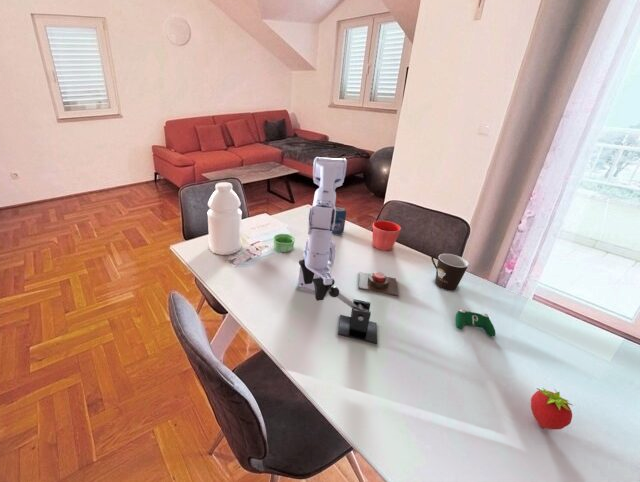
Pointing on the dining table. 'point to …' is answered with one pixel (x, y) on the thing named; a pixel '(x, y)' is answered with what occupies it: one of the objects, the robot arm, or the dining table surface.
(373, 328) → the bracket
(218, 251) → the bottle
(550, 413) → the strawberry
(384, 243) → the flower pot
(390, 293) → the button block
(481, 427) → the dining table surface
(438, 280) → the coffee mug
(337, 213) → the soda can
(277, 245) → the ramekin
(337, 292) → the lever
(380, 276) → the button
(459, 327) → the gaming controller
